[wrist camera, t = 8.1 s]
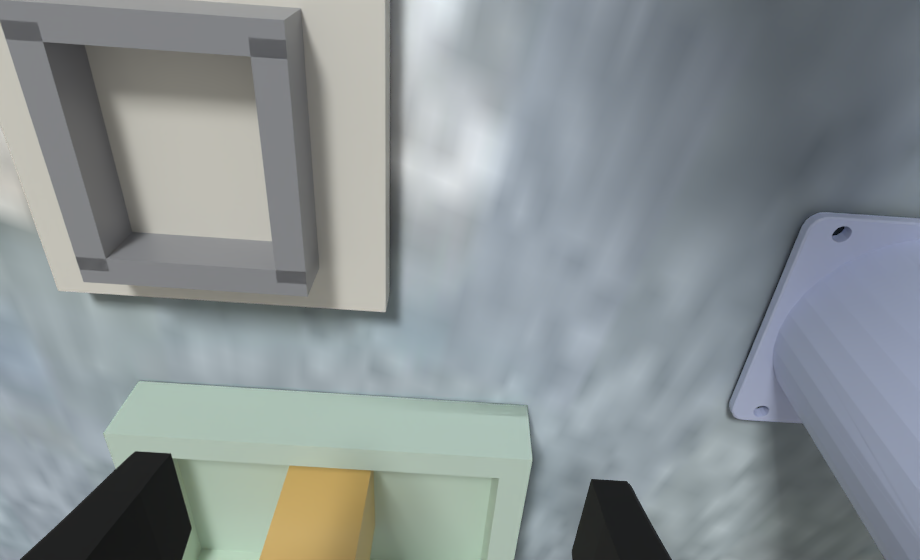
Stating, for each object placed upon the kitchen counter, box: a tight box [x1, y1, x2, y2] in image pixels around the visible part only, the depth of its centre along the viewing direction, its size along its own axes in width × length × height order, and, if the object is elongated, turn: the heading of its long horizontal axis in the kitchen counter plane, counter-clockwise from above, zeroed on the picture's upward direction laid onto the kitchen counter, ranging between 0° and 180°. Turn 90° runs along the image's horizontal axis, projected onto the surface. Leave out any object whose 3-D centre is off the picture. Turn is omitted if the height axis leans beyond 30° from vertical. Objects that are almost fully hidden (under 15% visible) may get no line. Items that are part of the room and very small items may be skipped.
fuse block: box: [0, 0, 390, 312], centre depth 16 cm, size 10×10×2 cm
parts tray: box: [103, 381, 532, 560], centre depth 24 cm, size 14×10×2 cm
